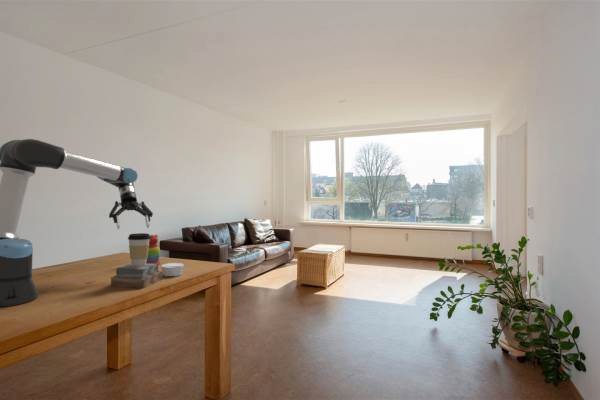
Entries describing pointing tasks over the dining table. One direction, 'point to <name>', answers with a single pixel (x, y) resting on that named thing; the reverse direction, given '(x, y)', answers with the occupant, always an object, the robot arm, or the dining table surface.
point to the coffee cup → (138, 249)
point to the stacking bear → (153, 250)
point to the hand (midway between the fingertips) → (133, 226)
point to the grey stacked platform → (136, 276)
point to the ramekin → (172, 269)
